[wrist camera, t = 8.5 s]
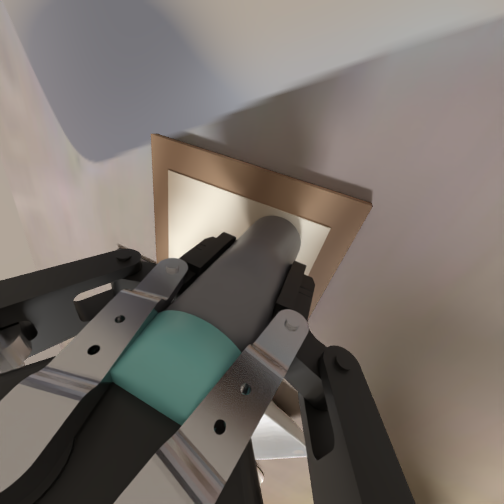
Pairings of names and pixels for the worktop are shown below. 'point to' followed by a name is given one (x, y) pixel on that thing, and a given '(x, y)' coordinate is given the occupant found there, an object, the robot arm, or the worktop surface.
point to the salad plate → (277, 436)
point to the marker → (210, 322)
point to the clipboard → (246, 206)
